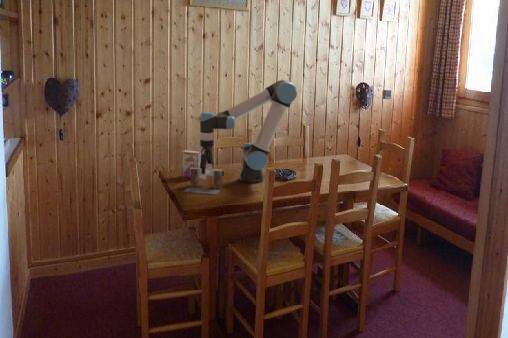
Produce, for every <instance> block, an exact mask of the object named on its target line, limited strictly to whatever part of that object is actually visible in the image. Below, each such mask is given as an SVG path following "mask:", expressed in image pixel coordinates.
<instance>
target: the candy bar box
mask: <svg viewBox="0 0 508 338" xmlns="http://www.w3.org/2000/svg"><path fill="white" fill-rule="evenodd" d="M200 161H201V151H197V150H196V151H194V150H188V149H185V150H182V151H181V177H182V178H189V179H191V174H189V168H191V167H194V166H197V167H199V168H200ZM199 179H201V175H199Z"/></svg>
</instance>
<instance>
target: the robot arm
mask: <svg viewBox="0 0 508 338" xmlns="http://www.w3.org/2000/svg"><path fill="white" fill-rule="evenodd" d="M297 96H298V91H297V87H296V86H295V85H294V84H293V83H292V82H290V81H288V80H284V79H281V80H278V81H275V82H274V83H272V84H270V85H269V86H267V87H265V88H264V90H263V91H260V92H259V93H257V94H255V95H253V96H251V97H250V98H247V99H246V100H244V101H242V102H239V103H237V104H236V105H233V106H232V107H230V108H227V109H226V110H224V111H221V112H218V113H216V115H214V114H215V113H213V112H210V111H203V112H201V113H200V120H199V121H200V123H199V125H200V126H199V128H200V129H199V130H200V131H199V132H200V133H199V135H200V142H199V145H200V147H202V149H201V151H200V152H201V161H200V168H201V177H200V179H201V180H207V176H206V168H209V169H213V168H212V167H213V166H212V165H214V157H213V147H214V130H228V131H229V130H233V129H235V127H236V126H235V125H236V123H235V122H236V120H237V119H240V118H241V117H243V116H245V115H247V114H249V113H251V112H253V111H255V110H258V109H259V108H261V107H263V106H265V105H267V104H268V103H270V104H271V105H270V107H269V109H268V112H267V115H266V117H265V119H264V121H263V122H262V123H263V124H262V126H261V128H260V130H259V133H258V135H257V137H256V140H255V141H254V142H246V143H244V144H242V168H241V170H240V173H239V177H238V178H239V181H241V182H244V183H252V184H253V183H262V182H263V181H264V180H265V178H264V177H265V176H264V173H263V169H265V167H266V166H267V165H268V158H269V155H270V153H271V149H270V146H271V143H272V141H273V139H274V137H275V134H276V132H277V130H278V127H279V125H280V124H281V121H282V118H283V117H284V113H285V111H286V110H287V109H290V107H291V104H292V103H293V102H294V101H296V99H297ZM261 181H262V182H261Z"/></svg>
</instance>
